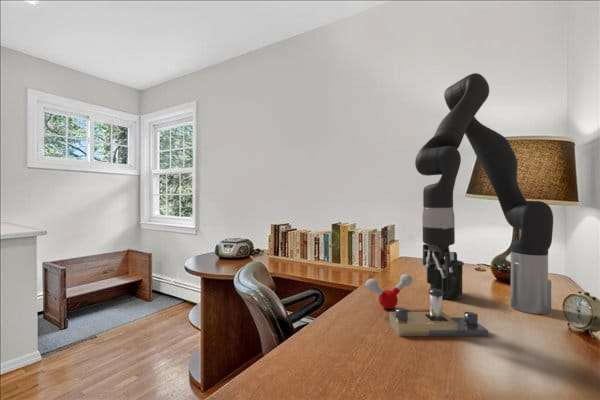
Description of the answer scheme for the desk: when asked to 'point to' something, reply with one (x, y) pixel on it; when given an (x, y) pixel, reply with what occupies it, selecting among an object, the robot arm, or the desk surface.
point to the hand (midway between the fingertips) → (438, 288)
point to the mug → (455, 283)
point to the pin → (436, 304)
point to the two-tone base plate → (434, 324)
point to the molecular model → (388, 291)
